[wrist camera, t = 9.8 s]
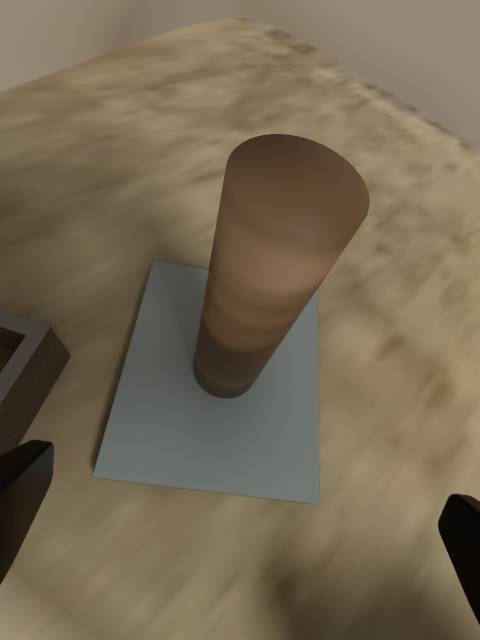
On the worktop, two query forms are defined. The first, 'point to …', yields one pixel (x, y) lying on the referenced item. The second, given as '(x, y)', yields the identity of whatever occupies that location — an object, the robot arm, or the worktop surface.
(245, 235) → the dowel
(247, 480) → the board
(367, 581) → the worktop surface
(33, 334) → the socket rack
